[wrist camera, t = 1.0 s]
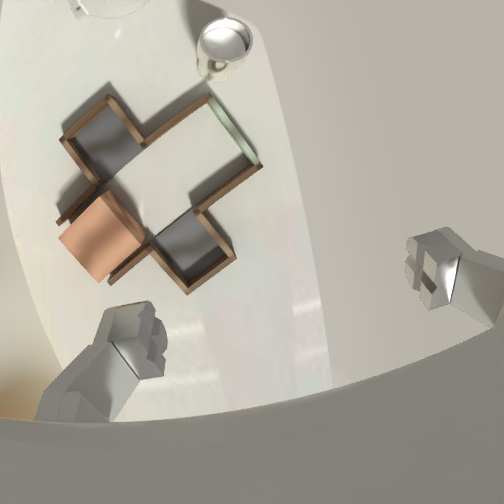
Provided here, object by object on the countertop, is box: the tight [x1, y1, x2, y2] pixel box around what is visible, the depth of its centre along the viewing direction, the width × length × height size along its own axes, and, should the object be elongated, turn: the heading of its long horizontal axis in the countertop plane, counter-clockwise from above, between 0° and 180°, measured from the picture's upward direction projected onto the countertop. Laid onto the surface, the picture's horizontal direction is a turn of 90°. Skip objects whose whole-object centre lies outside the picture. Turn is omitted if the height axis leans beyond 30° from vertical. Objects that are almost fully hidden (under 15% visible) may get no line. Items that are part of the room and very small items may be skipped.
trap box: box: [56, 92, 263, 295], centre depth 50 cm, size 35×33×3 cm
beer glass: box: [197, 17, 253, 83], centre depth 39 cm, size 7×7×15 cm
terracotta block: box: [59, 190, 146, 283], centre depth 49 cm, size 10×10×7 cm
